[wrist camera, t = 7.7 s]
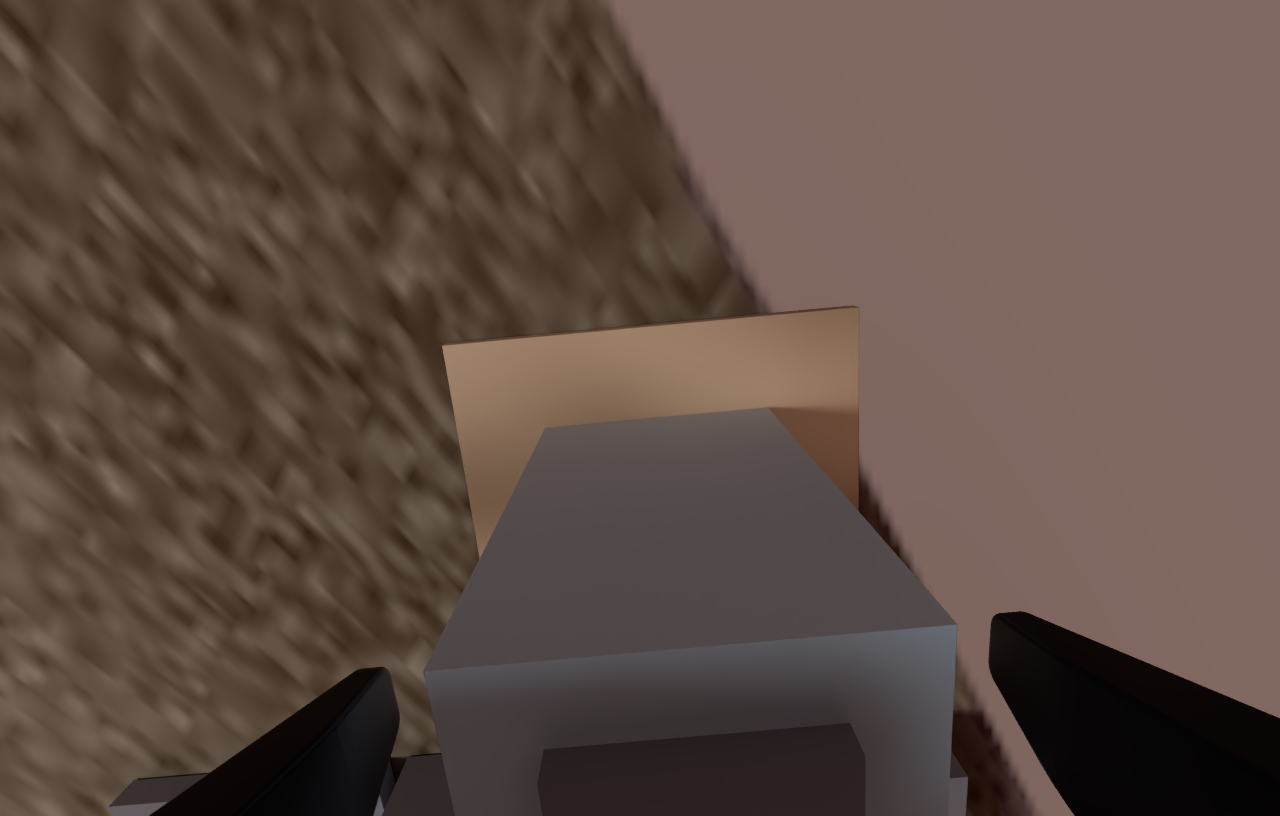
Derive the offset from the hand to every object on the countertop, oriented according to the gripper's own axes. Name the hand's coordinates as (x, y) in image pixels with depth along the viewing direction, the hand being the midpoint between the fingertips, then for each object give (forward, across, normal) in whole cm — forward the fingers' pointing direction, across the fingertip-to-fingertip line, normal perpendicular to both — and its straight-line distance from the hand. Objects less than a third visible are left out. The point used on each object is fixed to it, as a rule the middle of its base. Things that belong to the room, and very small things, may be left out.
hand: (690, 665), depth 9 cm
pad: (+6, 0, 0) cm, 6 cm away
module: (+5, 0, 0) cm, 5 cm away
